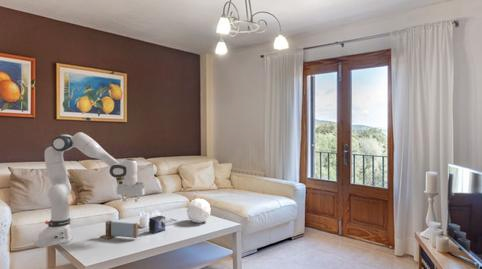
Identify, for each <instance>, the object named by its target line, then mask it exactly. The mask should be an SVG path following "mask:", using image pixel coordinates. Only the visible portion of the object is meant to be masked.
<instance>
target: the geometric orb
mask: <svg viewBox="0 0 482 269" xmlns="http://www.w3.org/2000/svg"><path fill="white" fill-rule="evenodd" d="M211 211H212V209H211V206H210V203H209V202H208V201H207V200H206V199H203V198H195V199H193V200H191V201H190V202H189V204H188V205H187V208H186V213H187V217H188V219H189V220H190V221H191V222H193V223H197V224H202V223H203V222H206V221H207V220H208V219H209V218H210V216H211Z"/></svg>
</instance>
